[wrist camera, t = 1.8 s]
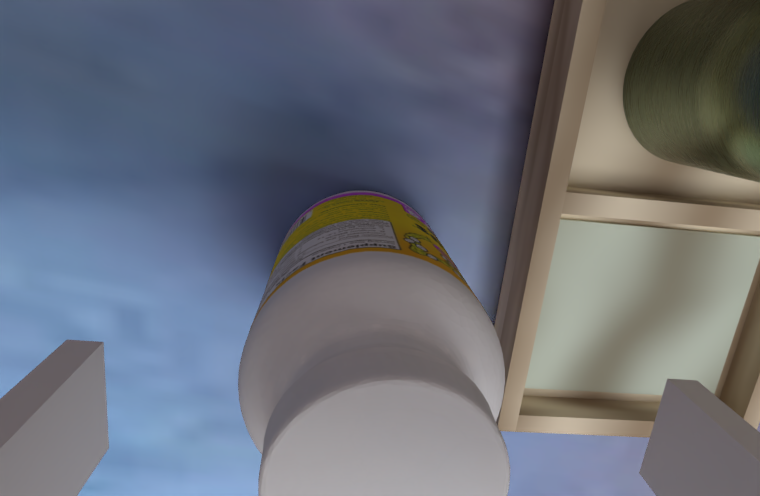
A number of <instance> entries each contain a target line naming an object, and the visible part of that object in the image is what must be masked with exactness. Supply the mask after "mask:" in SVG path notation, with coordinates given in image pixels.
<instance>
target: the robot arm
mask: <svg viewBox="0 0 760 496" xmlns="http://www.w3.org/2000/svg"><path fill="white" fill-rule="evenodd" d="M108 448H109V440H108V421H107V402H106V383H105V364H104V344H103V342H94V341H79V340H66V341H65V342H64V343H63V344H62V345H61V346H59V347H58V348H57V349H56V350H55V351H54V352H53V353H52V354H50V355H49V356H48V357H47V358H46V359H45V360H44V361H43V362H41V363H40V364H39V365H38V366H37V367H36V368H35V369H34V370H32V371H31V372H30V373H29V374H28V375H27V376H26V377H25V378H23V379H22V380H21V381H20V382H19V383H18V384H17V385H16V386H14V387H13V388H12V389H11V390H10V391H9V392H8V393H7V394H5V395H4V396H3V397H2V398H1V399H0V496H77V495H78V493H79V492H80V490H81V489H82V487H83V486H84V484H85V483H86V481H87V480H88V478H89V477H90V475H91V474H92V472H93V471H94V469H95V468H96V466H97V465H98V463H99V462H100V460H101V459H102V457H103V456H104V454H105V453H106V451H107V450H108ZM639 473H640V475H641V476H642V477H643V479H644V480H645V481H646V483H647V484H648V485H649V487H650V488H651V489H652V490H653V492H654V493H655V494H656V496H760V432H759V431H757V430H756V429H755V428H754V427H753V426H751V425H750V424H749V423H748V422H747V421H745V420H744V419H743V418H742V417H741V416H739V415H738V414H737V413H736V412H735V411H733V410H732V409H731V408H730V407H728V406H727V405H726V404H725V403H724V402H722V401H721V400H720V399H719V398H718V397H716V396H715V395H714V394H713V393H712V392H710V391H709V390H708V389H707V388H706V387H704V386H703V385H702V384H701V383H700V382H698V381H697V380H683V379H668V378H667V381H666V385H665V388H664V391H663V395H662V398H661V402H660V405H659V408H658V412H657V415H656V418H655V422H654V425H653V429H652V432H651V435H650V439H649V442H648V445H647V449H646V452H645V456H644V459H643V462H642V466H641V469H640V472H639Z"/></svg>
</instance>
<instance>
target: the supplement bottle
mask: <svg viewBox="0 0 760 496" xmlns="http://www.w3.org/2000/svg"><path fill="white" fill-rule="evenodd" d="M504 385H505V367H504V359H503V353H502V348H501V345H500V341H499V339H498V336H497V333H496V331H495V328H494V326H493V324H492V322H491V320H490V318H489V317H488V315H487V313H486V312H485V310H484V308H483V306H482V305H481V303H480V302H479V300H478V299H477V297H476V296H475V295H474V293H473V292H472V290H471V289H470V287H469V286H468V284H467V283H466V281H465V279H464V278H463V276H462V275H461V273H460V272H459V270H458V269H457V267H456V265H455V264H454V263H453V261H452V260H451V258H450V257H449V255H448V253H447V252H446V250H445V249H444V247H443V246H442V244H441V243H440V241H439V240H438V238H437V237H436V235H435V234H434V232H433V231H432V229H431V228H430V227H429V225H428V224H427V223H426V222H425V221H424V219H423V218H422V217H421V216H420V215H419V214H418V213H417V212H416V211H415V210H414V209H412V208H411V207H410V206H408V205H407V204H405V203H404V202H402V201H400V200H398V199H396V198H394V197H392V196H389V195H386V194H383V193H379V192H373V191H347V192H343V193H339V194H336V195H332V196H330V197H327V198H325V199H323V200H321V201H319V202H317V203H315V204H314V205H312V206H311V207H310V208H308V209H307V210H306V211H305V212H304V213H303V214H302V215H301V216H300V217H299V218H298V219H297V220H296V221H295V222H294V224H293V225H292V226H291V228H290V229H289V231H288V233H287V235H286V237H285V238H284V241H283V243H282V245H281V248H280V250H279V253H278V256H277V258H276V261H275V264H274V267H273V269H272V272H271V275H270V278H269V280H268V283H267V286H266V289H265V292H264V294H263V297H262V300H261V303H260V305H259V308H258V311H257V313H256V316H255V318H254V321H253V323H252V325H251V328H250V331H249V334H248V337H247V340H246V343H245V345H244V349H243V352H242V356H241V361H240V367H239V379H238V391H239V401H240V407H241V412H242V415H243V419H244V421H245V424H246V427H247V430H248V432H249V434H250V436H251V438H252V440H253V442H254V444H255V445H256V447H257V449H258V450H259V451H260V453H261V454H262V459H261V465H260V472H259V488H258V490H259V496H507V494H508V490H509V481H510V465H509V457H508V453H507V448H506V445H505V442H504V440H503V437H502V435H501V432H500V430H499V428H498V426H497V423H496V421H497V418H498V415H499V412H500V409H501V405H502V400H503V394H504Z"/></svg>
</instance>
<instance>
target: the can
mask: <svg viewBox="0 0 760 496" xmlns="http://www.w3.org/2000/svg"><path fill="white" fill-rule="evenodd" d="M623 107H624V112H625V117H626V120H627V123H628V125H629V128H630V130H631V132H632V133H633V135H634V137H635V138H636V139H637V141H638V142H639V143H640V144H641V145H642V146H643V147H644V148H645V149H646V150H647V151H648V152H650V153H651V154H653V155H654V156H656V157H658V158H660V159H663V160H666V161H669V162H673V163H677V164H681V165H686V166H690V167H694V168H699V169H703V170H707V171H712V172H716V173H720V174H725V175H729V176H733V177H738V178H742V179H746V180H751V181H755V182H759V183H760V0H689V1H687V2H684V3H682V4H680V5H678V6H676V7H674V8H672V9H671V10H669V11H668V12H667V13H665V14H664V15H662V16H661V17H660V18H659V19H658V20H657V21H656V22H655V23H654V24H653V25H652V26H651V27H650V28H649V29H648V30H647V31H646V33H645V34H644V35H643V37H642V38H641V40H640V41H639V43H638V44H637V46H636V48H635V50H634V52H633V54H632V56H631V59H630V61H629V63H628V67H627V70H626V74H625V79H624V85H623Z"/></svg>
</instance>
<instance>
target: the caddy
mask: <svg viewBox="0 0 760 496" xmlns="http://www.w3.org/2000/svg"><path fill="white" fill-rule="evenodd" d="M687 1H689V0H555V1H554V7H553V12H552V17H551V23H550V28H549V34H548V39H547V44H546V50H545V55H544V61H543V66H542V71H541V77H540V82H539V88H538V93H537V98H536V104H535V109H534V115H533V120H532V125H531V131H530V136H529V142H528V147H527V152H526V158H525V163H524V168H523V174H522V179H521V185H520V190H519V195H518V201H517V206H516V212H515V217H514V222H513V228H512V233H511V239H510V244H509V249H508V255H507V260H506V266H505V271H504V276H503V282H502V287H501V293H500V298H499V303H498V309H497V314H496V320H495V325H494V328H495V331H496V333H497V336H498V339H499V341H500V345H501V348H502V353H503V359H504V367H505V385H504V394H503V400H502V405H501V409H500V412H499V415H498V418H497V421H496V423H497V426H498V428H499V430H500V431H513V432H536V433H559V434H582V435H606V436H629V437H650V435H651V432H652V429H653V425H654V422H655V418H656V415H657V412H658V408H659V405H660V402H661V398H662V395H663V391H664V388H665V385H666V381H667V378H668V379H683V380H697V381H698V382H700V383H701V384H702V385H703V386H704V387H706V388H707V389H708V390H709V391H710V392H712V393H713V394H714V395H715V396H716V397H718V398H719V399H720V400H721V401H722V402H724V403H725V404H726V405H727V406H728V407H730V408H731V409H732V410H733V411H735V412H736V413H737V414H738V415H739V416H741V417H742V418H743V419H744V420H745V421H747V422H748V423H749V424H750V425H751V426H753V427H754V428H755V429H756V430H757V428H758V425H759V422H760V183H759V182H755V181H751V180H746V179H742V178H738V177H733V176H729V175H725V174H720V173H716V172H712V171H707V170H703V169H699V168H694V167H690V166H686V165H681V164H677V163H673V162H669V161H666V160H663V159H660V158H658V157H656V156H654V155H653V154H651V153H650V152H648V151H647V150H646V149H645V148H644V147H643V146H642V145H641V144H640V143H639V142H638V141H637V139H636V138H635V137H634V135H633V133H632V132H631V130H630V128H629V125H628V123H627V120H626V117H625V112H624V107H623V85H624V79H625V74H626V70H627V67H628V63H629V61H630V59H631V56H632V54H633V52H634V50H635V48H636V46H637V44H638V43H639V41H640V40H641V38H642V37H643V35H644V34H645V33H646V31H647V30H648V29H649V28H650V27H651V26H652V25H653V24H654V23H655V22H656V21H657V20H658V19H659V18H660V17H661V16H662V15H664V14H665V13H667V12H668V11H669V10H671V9H672V8H674V7H676V6H678V5H680V4H682V3H684V2H687Z"/></svg>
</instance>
